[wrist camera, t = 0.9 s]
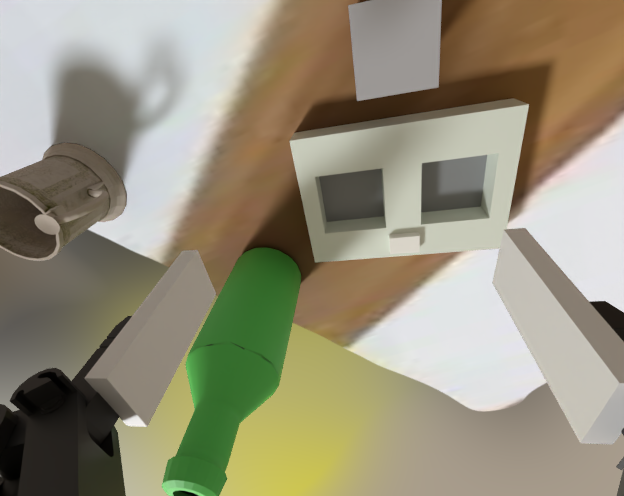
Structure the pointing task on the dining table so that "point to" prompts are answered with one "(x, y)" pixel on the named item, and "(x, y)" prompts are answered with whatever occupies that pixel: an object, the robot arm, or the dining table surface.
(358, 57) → the plug
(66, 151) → the mug
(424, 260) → the dining table surface
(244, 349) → the bottle
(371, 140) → the socket plate
